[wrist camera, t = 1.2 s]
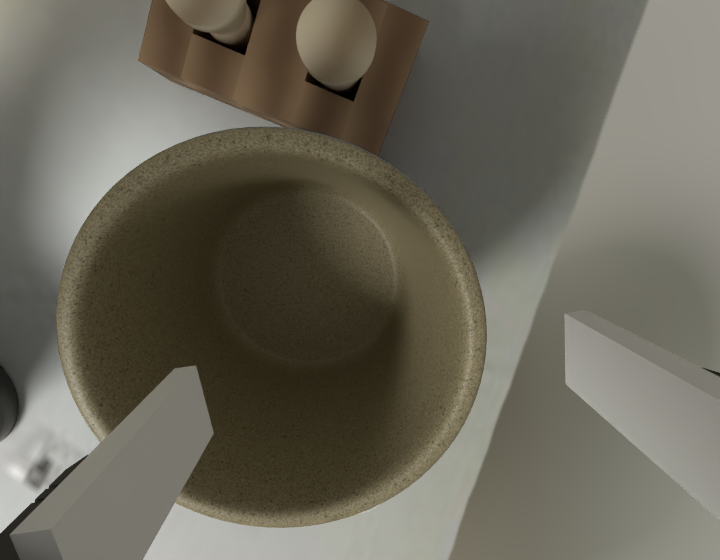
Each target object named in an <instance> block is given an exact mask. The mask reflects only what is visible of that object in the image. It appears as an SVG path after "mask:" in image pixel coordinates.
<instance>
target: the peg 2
mask: <svg viewBox="0 0 720 560" xmlns="http://www.w3.org/2000/svg"><path fill="white" fill-rule="evenodd" d="M376 42H377V35H376V28H375V24H374V21H373V18H372V16H371V14H370V13H369V11H368V10H367V8H366V7H365V6H364V5H363V4H362V3H361V2H360V1H359V0H312V1H311V2H310V3H309V4H308V5H307V6H306V7H305V9H304V10H303V12H302V14H301V16H300V18H299V21H298V24H297V30H296V43H297V48H298V52H299V54H300V57H301V60H302V62H303V64H304V66H305V68H306V69H307V71H308V72H309V73H310V74H311V75H312V76H313V77H314V78H315V79H316V80H318V81H319V82H320V83H321V84H322V86H323V87H324V88H325V89H326V90H328V91H329V92H332V93H334V94H344V93H347V92H349V91H351V90H352V89H353V88H354V87H355V86H356V85H357V83H358V81H359V79H360V78H361V77H362V76H363V75H364V74H365V73H366V72H367V71H368V69H369V67H370V66H371V63H372V61H373V58H374V54H375V49H376Z"/></svg>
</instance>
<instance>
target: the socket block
mask: <svg viewBox="0 0 720 560" xmlns="http://www.w3.org/2000/svg"><path fill="white" fill-rule="evenodd" d="M311 1H312V0H247V1H246V3H247V5H248V6H249V8H250V10H251V12H252V14H253V17H254V20H255V23H254V26H253V30H252V33H251V36H250V40H249V43H248V47H247V50H246V54H245V55H242V54H240V53H238V52H235V51H233V50H230V49H228V48H226V47H223V46H221V45H220V44H219V43H218V42H217V41H216V40H215V39H214V38H213V36H212V35H211V34H210V33H209V32H203V31H199V30H196V29H194V28H192V27H190V26H189V25H187V24H186V23H185V22H184V21H183V20H182V19H181V18H180V17H179V16H178V15H177V14H176V13H175V12H174V11H173V10H172V9H171V8H170V6H169V5H168V4H167V2H166V0H152V4H151V8H150V12H149V16H148V21H147V25H146V29H145V33H144V37H143V42H142V46H141V50H140V54H139V59H138V61H140V62H141V63H143V64H145V65H146V66H148V67H149V68H151V69H153V70H154V71H156V72H157V73H159V74H160V75H162V76H164V77H165V78H167V79H168V80H170V81H172V82H175V83H177V84H180V85H182V86H184V87H187V88H189V89H192V90H194V91H197V92H199V93H202V94H204V95H207V96H209V97H211V98H214V99H216V100H219V101H221V102H224V103H226V104H229V105H231V106H234V107H236V108H238V109H241V110H243V111H246V112H248V113H251V114H253V115H256V116H258V117H260V118H263V119H265V120H268V121H270V122H273V123H275V124H278V125H280V126H283V127H285V128H292V129H299V130H305V131H310V132H315V133H319V134H323V135H327V136H330V137H333V138H336V139H340V140H343V141H345V142H348V143H350V144H353V145H355V146H358V147H360V148H362V149H364V150H366V151H368V152H370V153H372V154H374V155H376V156H378V154H379V152H380V149H381V146H382V144H383V141H384V138H385V136H386V133H387V130H388V128H389V125H390V123H391V120H392V117H393V115H394V112H395V109H396V107H397V104H398V101H399V99H400V96H401V93H402V91H403V88H404V86H405V83H406V80H407V78H408V75H409V72H410V70H411V67H412V64H413V62H414V59H415V56H416V54H417V51H418V49H419V46H420V43H421V41H422V38H423V35H424V33H425V30H426V27H427V25H428V22H429V21H427V20H425V19H423V18H420V17H418V16H416V15H414V14H412V13H410V12H407V11H405V10H403V9H401V8H399V7H397V6H394V5H392V4H390V3H388V2H386V1H384V0H359V1H360V2H361V3H362V4H363V5H364V6H365V7H366V8H367V10H368V11H369V13H370V14H371V16H372V18H373V21H374V24H375V28H376V35H377V42H376V49H375V54H374V58H373V61H372V63H371V66H370V67H369V69H368V71H367V72H366V73H365V74H364V75H363V77H362V80H361V83H360V86H359V88H358V91H357V94H356V97H355V100H354V102H353V101H351V100H348V99H346V98H343V97H341V96H339V95H336V94H334V93H332V92H329V91H327V90H325V89H322V88H320V87H318V86H315V85H316V82H317V80H316V79H315V78H314V77H313V76H312V75H311V74H310V73H309V72H308V71H307V69H306V68H305V66H304V64H303V62H302V60H301V57H300V54H299V52H298V48H297V43H296V30H297V24H298V21H299V18H300V16H301V14H302V12H303V10H304V9H305V7H306V6H307V5H308V4H309V3H310V2H311Z"/></svg>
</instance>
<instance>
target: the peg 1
mask: <svg viewBox="0 0 720 560" xmlns="http://www.w3.org/2000/svg"><path fill="white" fill-rule="evenodd" d="M246 1H247V0H166V2H167V4H168V5H169V6H170V8H171V9H172V10H173V11H174V12H175V13H176V14H177V15H178V16H179V17H180V18H181V19H182V20H183V21H184V22H185V23H186V24H187V25H189V26H190V27H192V28H194V29H196V30H199V31H203V32H209V33H210V34H211V35H212V36H213V38H214V39H215V40H216V41H217V42H218V43H219V44H220V45H222V46H223V47H226V48H228V49H240V48H242V47H244V46H246V45H247V44H248V43H249V40H250V36H251V33H252V30H253V26H254V23H255V21H254V17H253V14H252V12H251V10H250V8H249V6H248V5H247V3H246Z"/></svg>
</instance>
